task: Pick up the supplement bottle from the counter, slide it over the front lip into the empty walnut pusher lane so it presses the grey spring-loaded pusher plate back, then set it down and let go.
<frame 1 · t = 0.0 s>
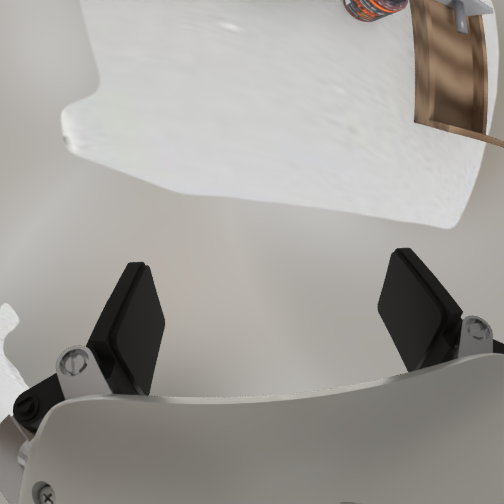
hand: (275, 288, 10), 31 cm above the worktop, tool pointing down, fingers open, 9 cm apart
supplement bottle: (360, 6, 26), on the worktop
pusher lane: (446, 58, 29), on the worktop
pusher plate: (459, 14, 20), point 5 cm above the worktop, slide at 0.0 cm
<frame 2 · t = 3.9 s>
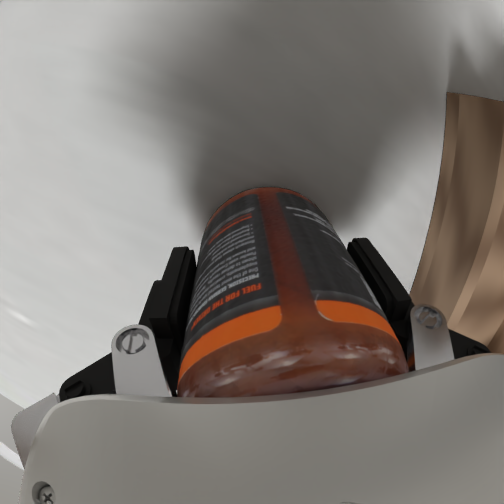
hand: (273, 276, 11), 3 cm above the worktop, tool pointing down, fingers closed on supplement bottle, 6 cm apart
supplement bottle: (266, 241, 13), on the worktop, touching gripper
pusher lane: (474, 292, 16), on the worktop
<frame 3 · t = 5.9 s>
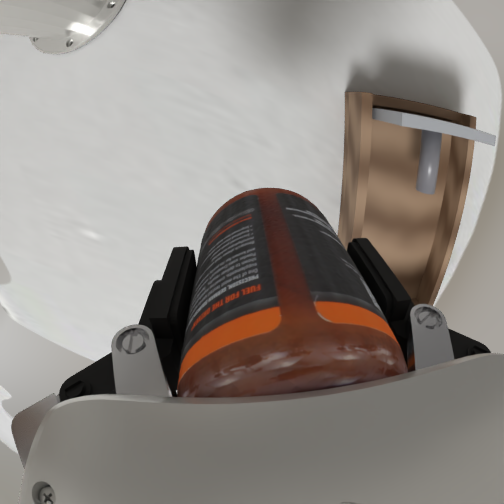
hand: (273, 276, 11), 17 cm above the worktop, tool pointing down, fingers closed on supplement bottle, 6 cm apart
supplement bottle: (266, 242, 14), point 15 cm above the worktop, touching gripper
pusher lane: (395, 215, 29), on the worktop
pusher plate: (429, 155, 21), point 5 cm above the worktop, slide at 0.0 cm
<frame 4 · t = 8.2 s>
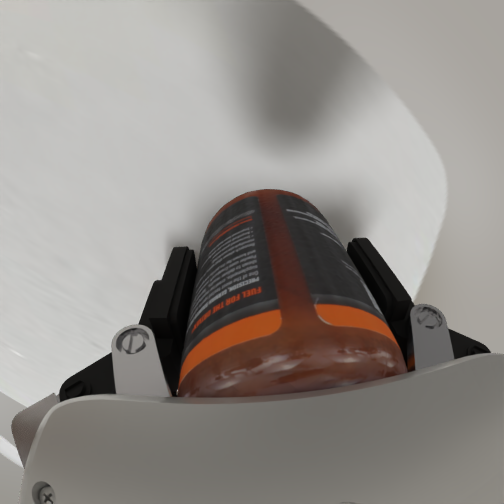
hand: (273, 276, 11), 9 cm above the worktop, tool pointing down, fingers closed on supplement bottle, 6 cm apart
supplement bottle: (266, 243, 14), point 6 cm above the worktop, touching gripper
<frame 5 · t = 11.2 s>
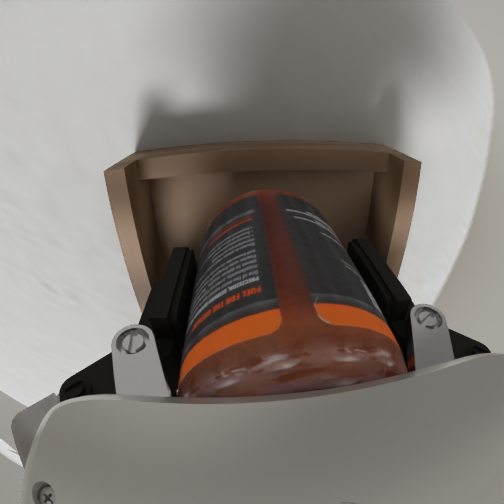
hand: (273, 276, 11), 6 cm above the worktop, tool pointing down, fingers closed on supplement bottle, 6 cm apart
supplement bottle: (266, 243, 14), point 3 cm above the worktop, touching gripper, pusher plate
pusher lane: (265, 324, 21), on the worktop
when the fingers open (4 cm above the worktop, at t = 12.7 s): supplement bottle stays where it is, resting on pusher lane, pusher plate.
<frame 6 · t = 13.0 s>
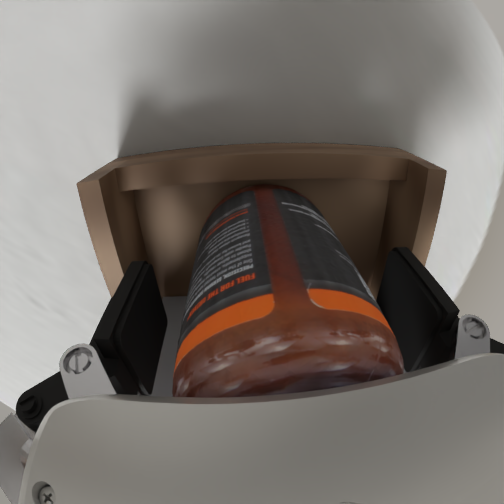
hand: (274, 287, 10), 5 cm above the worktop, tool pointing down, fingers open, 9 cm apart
supplement bottle: (263, 238, 14), point 1 cm above the worktop, touching pusher lane, pusher plate
pusher lane: (266, 343, 19), on the worktop
pusher plate: (272, 385, 14), point 5 cm above the worktop, slide at 6.1 cm, touching supplement bottle
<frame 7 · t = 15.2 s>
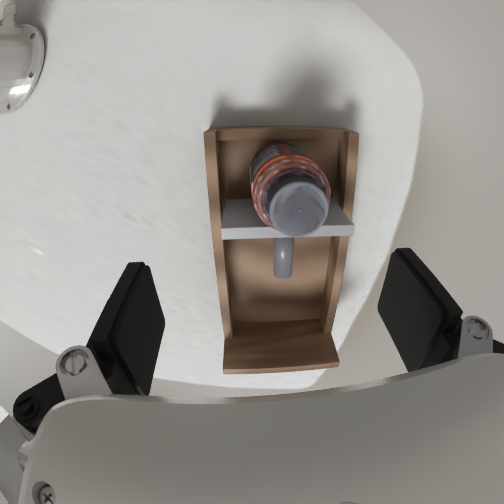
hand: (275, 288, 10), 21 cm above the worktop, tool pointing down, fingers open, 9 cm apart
supplement bottle: (278, 169, 28), point 1 cm above the worktop, touching pusher lane, pusher plate
pusher lane: (278, 240, 33), on the worktop
pusher plate: (283, 243, 28), point 5 cm above the worktop, slide at 6.1 cm, touching supplement bottle
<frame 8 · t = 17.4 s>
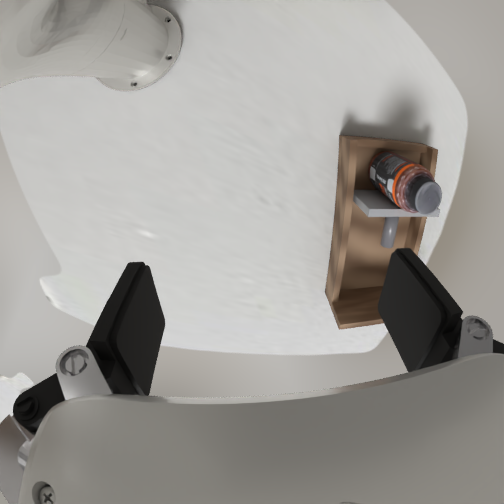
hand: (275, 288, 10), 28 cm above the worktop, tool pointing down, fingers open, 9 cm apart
supplement bottle: (384, 169, 36), point 1 cm above the worktop, touching pusher lane, pusher plate
pusher lane: (375, 221, 41), on the worktop
pusher plate: (391, 222, 36), point 5 cm above the worktop, slide at 6.1 cm, touching supplement bottle
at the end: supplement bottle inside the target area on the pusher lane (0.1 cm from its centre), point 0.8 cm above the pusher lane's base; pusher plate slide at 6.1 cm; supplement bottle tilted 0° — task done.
